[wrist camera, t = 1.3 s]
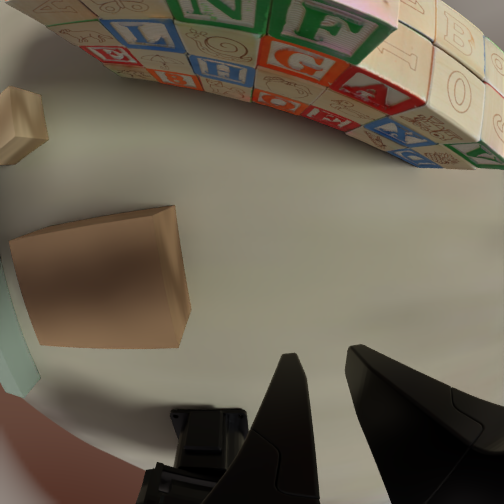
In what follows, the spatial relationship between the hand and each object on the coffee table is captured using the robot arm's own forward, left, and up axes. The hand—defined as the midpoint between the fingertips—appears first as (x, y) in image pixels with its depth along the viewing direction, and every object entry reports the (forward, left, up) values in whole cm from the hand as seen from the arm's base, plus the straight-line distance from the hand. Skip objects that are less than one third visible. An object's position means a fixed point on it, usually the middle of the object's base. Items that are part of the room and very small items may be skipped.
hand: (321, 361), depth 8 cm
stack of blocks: (+12, -1, -11) cm, 17 cm away
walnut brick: (0, +11, -11) cm, 16 cm away
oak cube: (+11, +18, -11) cm, 24 cm away
